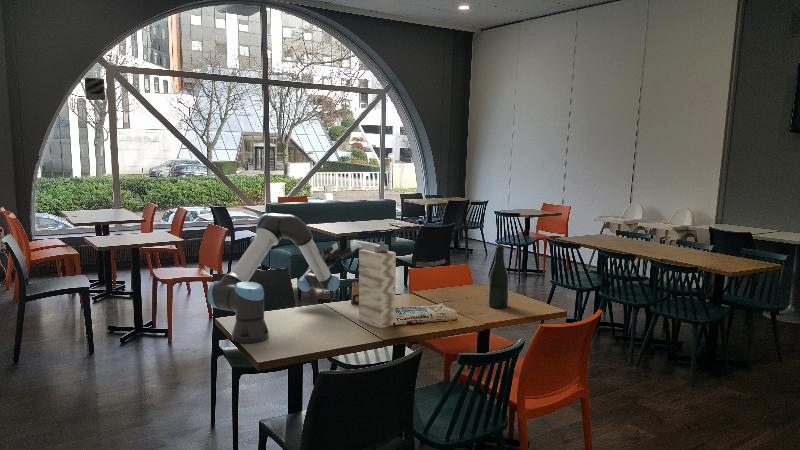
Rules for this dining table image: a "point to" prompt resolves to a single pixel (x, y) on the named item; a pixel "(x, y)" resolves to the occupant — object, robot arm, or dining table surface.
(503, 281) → the beer bottle
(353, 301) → the ammunition clip
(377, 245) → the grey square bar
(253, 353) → the dining table surface
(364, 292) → the stand
